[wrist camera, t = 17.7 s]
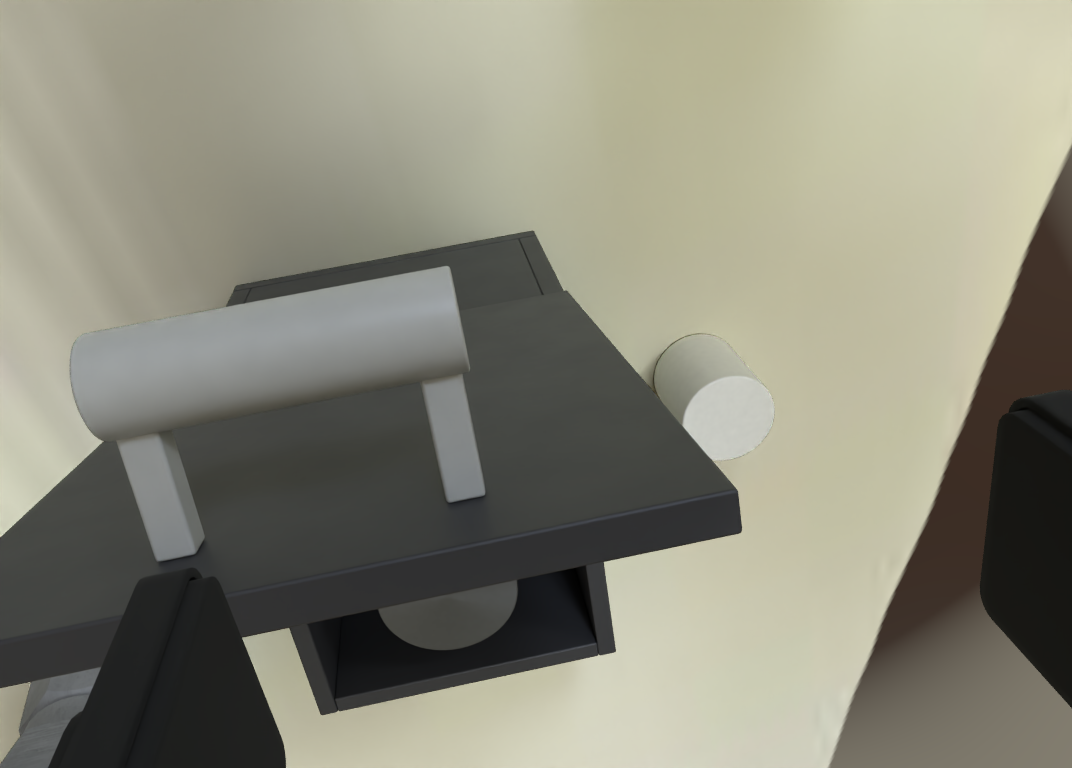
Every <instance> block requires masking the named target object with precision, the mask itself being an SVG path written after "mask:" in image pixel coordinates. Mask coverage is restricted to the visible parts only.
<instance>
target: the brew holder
mask: <svg viewBox="0 0 1072 768" xmlns="http://www.w3.org/2000/svg"><path fill="white" fill-rule="evenodd" d="M517 597H518V581H517V580H514V581H510V582H505V583H500V584H495V585H491V586H486V587H481V588H476V589H471V590H467V591H462V592H457V593H452V594H448V595H443V596H438V597H433V598H428V599H424V600H419V601H414V602H409V603H405V604H400V605H395V606H390V607H385V608H381V609H378V611H379V614H380V616H381V618H382V620H383V622H384V623H385V625H386V626H387V627H388V628H389V629H390V630H391V631H392V632H393V633H394V634H395V635H396V636H398V637H399V638H400V639H402V640H404V641H406V642H407V643H409V644H412V645H415V646H417V647H421V648H425V649H432V650H454V649H460V648H464V647H468V646H471V645H474V644H476V643H479V642H481V641H483V640H485V639H486V638H488V637H490V636H491V635H493V634H494V633H495V632H496V631H498V630H499V629H500V628H501V627H502V626H503V625H504V624H505V623H506V621H507V620H508V619H509V617H510V615H511V614H512V612H513V610H514V608H515V605H516V602H517Z"/></svg>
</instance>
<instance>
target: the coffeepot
mask: <svg viewBox="0 0 1072 768" xmlns="http://www.w3.org/2000/svg"><path fill="white" fill-rule="evenodd" d="M100 669H101V667H99V668H94V669H89V670H85V671H80V672H75V673H70V674H66V675H61V676H56V677H51V678H46V679H42V680H37V681H32V682H31V685H30V688H29V692H28V696H27V700H26V704H25V708H24V711H23V715H22V719H21V723H20V727H19V733H20V738H19V739H18V740H17V741H16V743H15V744H14V745H13V747H12V748H11V750H10V751H9V752H8V754H7V755H6V757H5V758H4V759H3V761H2V762H1V764H0V768H48V766H49V764H50V762H51V759H52V757H53V755H54V753H55V750H56V748H57V746H58V743H59V741H60V739H61V736H62V734H63V732H64V730H65V728H66V727H67V725H68V723H69V722H70V720H71V718H73V717H74V716H75V715H77V714H78V713H79V712H81V711H83V709H84V707H85V704H86V702H87V700H88V697H89V695H90V693H91V690H92V688H93V685H94V683H95V681H96V678H97V676H98V674H99V671H100Z"/></svg>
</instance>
